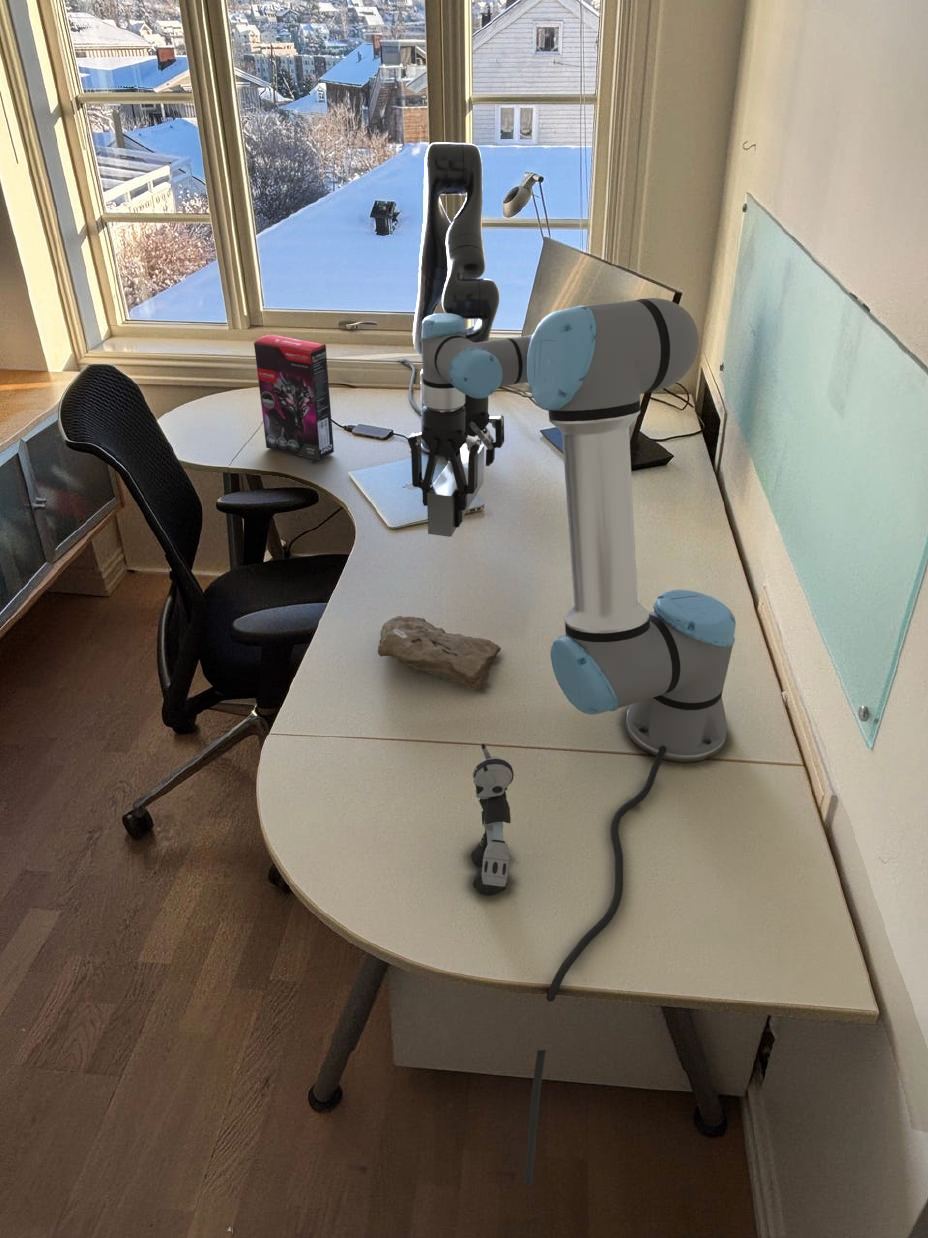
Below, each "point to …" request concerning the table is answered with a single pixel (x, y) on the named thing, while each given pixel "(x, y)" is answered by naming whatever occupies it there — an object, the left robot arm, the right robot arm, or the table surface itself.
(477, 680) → the stone
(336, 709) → the table surface
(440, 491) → the bar
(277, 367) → the graphics card box
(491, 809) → the robot
